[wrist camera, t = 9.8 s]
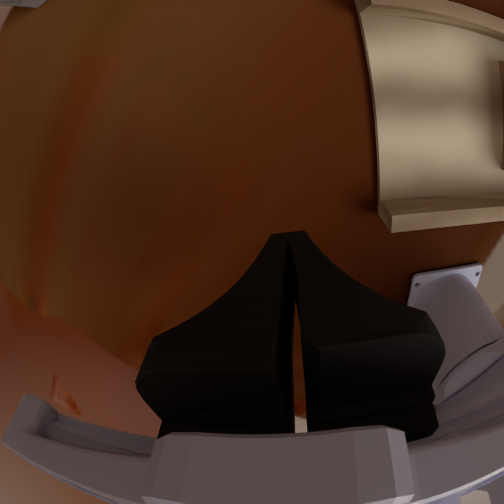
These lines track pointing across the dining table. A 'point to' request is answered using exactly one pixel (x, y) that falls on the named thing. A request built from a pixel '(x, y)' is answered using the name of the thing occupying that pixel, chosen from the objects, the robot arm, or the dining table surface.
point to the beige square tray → (503, 76)
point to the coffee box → (23, 3)
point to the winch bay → (435, 111)
